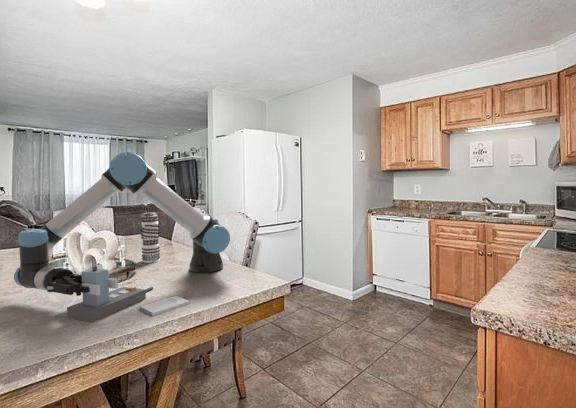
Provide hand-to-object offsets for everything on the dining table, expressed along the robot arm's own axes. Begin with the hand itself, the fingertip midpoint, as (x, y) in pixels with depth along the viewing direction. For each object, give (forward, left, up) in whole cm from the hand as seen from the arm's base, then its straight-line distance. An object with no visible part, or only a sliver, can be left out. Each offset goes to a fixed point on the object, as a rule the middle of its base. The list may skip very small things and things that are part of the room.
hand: (108, 287), depth 94 cm
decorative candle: (-30, -63, -9) cm, 70 cm away
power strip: (-5, -9, -9) cm, 13 cm away
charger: (+3, -5, -6) cm, 8 cm away
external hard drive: (-15, +4, -9) cm, 18 cm away
